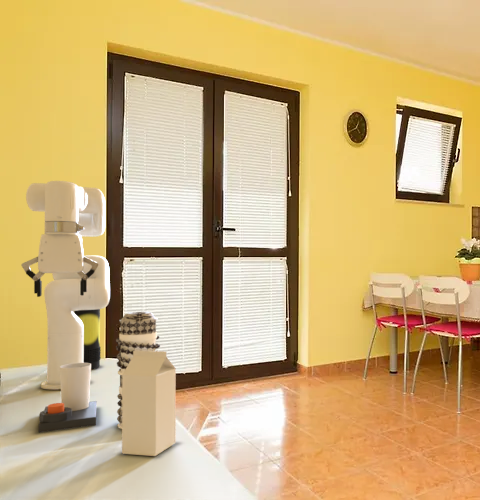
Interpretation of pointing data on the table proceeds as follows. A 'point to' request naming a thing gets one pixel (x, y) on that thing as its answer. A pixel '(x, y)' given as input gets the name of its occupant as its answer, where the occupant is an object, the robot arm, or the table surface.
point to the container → (91, 336)
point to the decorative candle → (134, 343)
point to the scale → (68, 418)
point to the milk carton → (148, 404)
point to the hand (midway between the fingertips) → (61, 295)
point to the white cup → (75, 385)
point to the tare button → (55, 408)
